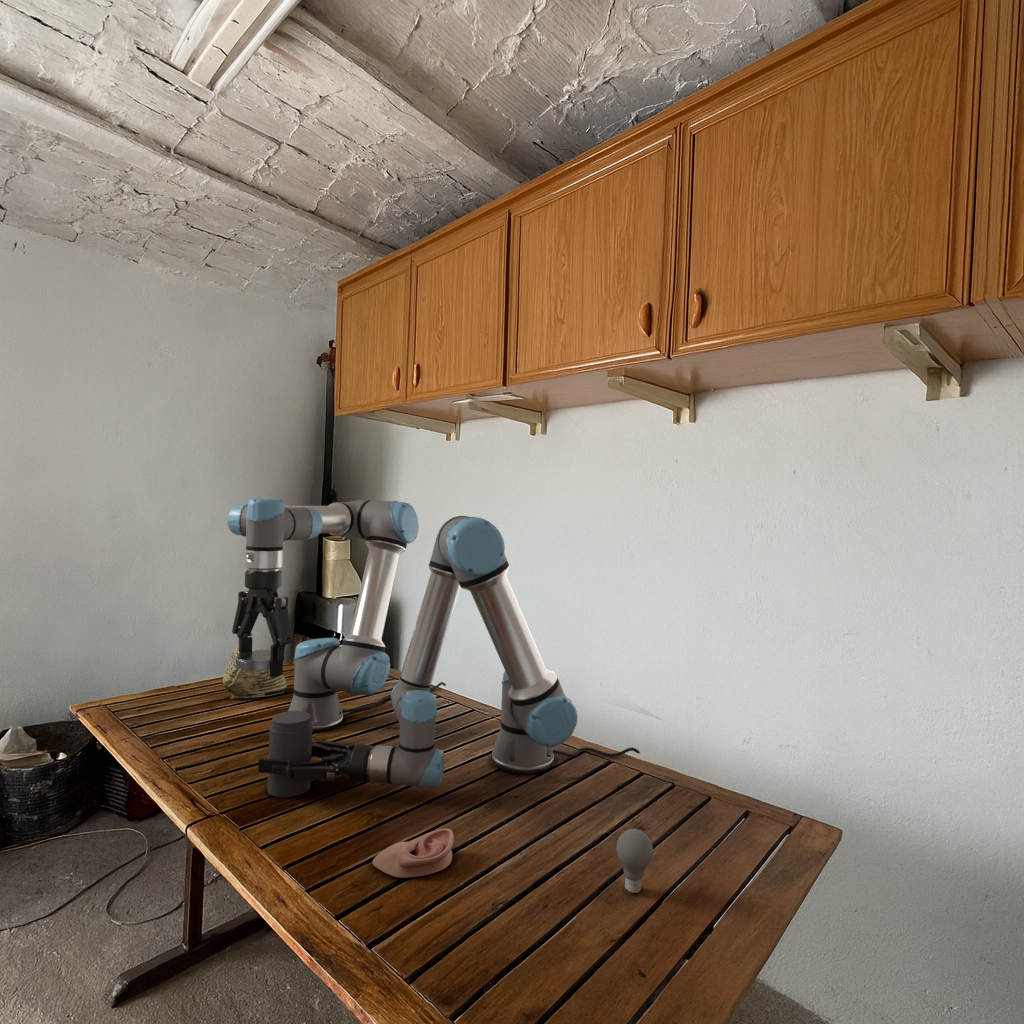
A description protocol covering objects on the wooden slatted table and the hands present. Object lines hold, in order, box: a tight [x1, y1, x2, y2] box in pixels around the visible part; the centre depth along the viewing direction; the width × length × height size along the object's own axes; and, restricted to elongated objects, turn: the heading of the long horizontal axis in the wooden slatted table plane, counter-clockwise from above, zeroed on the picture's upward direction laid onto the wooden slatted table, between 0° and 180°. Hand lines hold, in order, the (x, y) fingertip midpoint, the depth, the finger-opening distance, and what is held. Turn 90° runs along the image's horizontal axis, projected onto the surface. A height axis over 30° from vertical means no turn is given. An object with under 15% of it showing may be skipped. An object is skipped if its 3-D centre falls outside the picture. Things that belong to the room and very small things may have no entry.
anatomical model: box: [372, 828, 455, 879], centre depth 112 cm, size 13×4×12 cm
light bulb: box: [615, 828, 654, 894], centre depth 106 cm, size 6×6×10 cm
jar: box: [266, 710, 313, 798], centre depth 137 cm, size 9×9×16 cm
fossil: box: [222, 646, 288, 699], centre depth 198 cm, size 9×18×15 cm, turn 132°
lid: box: [236, 649, 286, 671], centre depth 138 cm, size 10×10×2 cm
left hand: (260, 671), depth 138 cm, fingers closed on lid, 10 cm apart
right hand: (269, 756), depth 137 cm, fingers closed on jar, 9 cm apart
